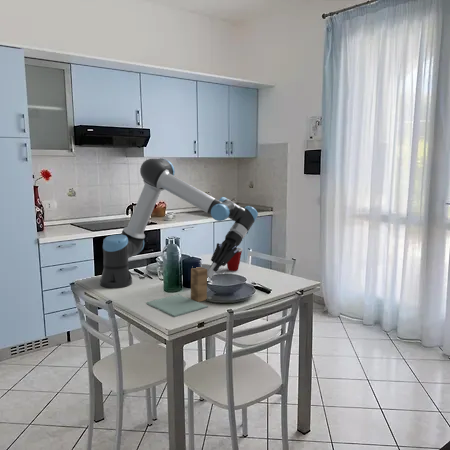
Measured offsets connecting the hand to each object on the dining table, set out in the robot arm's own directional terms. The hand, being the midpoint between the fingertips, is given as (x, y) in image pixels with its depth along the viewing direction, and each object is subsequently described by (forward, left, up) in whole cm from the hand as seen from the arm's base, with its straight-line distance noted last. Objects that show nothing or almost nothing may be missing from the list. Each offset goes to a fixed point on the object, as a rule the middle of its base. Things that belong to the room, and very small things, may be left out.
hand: (208, 276), depth 187 cm
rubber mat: (-1, -17, -10) cm, 20 cm away
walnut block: (-1, -5, -10) cm, 11 cm away
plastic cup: (-28, +42, -10) cm, 52 cm away
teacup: (-21, +13, -10) cm, 27 cm away
